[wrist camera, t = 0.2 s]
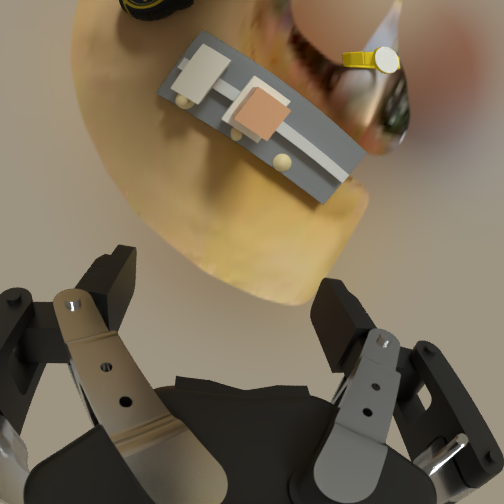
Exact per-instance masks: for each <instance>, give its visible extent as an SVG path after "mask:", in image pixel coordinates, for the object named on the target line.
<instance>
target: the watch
mask: <svg viewBox="0 0 504 504" xmlns="http://www.w3.org/2000/svg"><path fill="white" fill-rule="evenodd" d="M342 59H343V66H344V67H357V68H370V69H377V70H378V71H380V72H381V73H385V74H390V73H393V72H395V71H396V70H398V69H400V61H399V57H398V56H397V55H396V53H395V52H394V51H393V50H392V49H390V48H388V47H379V48H377V49H375V50H374V52H349V53H344V54H343V55H342Z"/></svg>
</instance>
